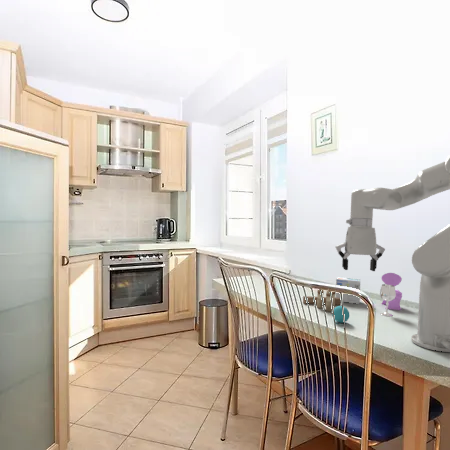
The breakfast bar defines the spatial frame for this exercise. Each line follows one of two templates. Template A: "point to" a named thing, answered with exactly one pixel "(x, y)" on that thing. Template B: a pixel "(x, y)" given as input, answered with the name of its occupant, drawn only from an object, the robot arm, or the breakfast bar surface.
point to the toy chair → (395, 280)
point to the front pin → (328, 302)
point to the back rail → (310, 300)
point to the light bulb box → (349, 283)
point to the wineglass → (387, 296)
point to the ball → (340, 314)
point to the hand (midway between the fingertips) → (359, 270)
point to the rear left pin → (319, 300)
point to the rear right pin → (333, 298)
